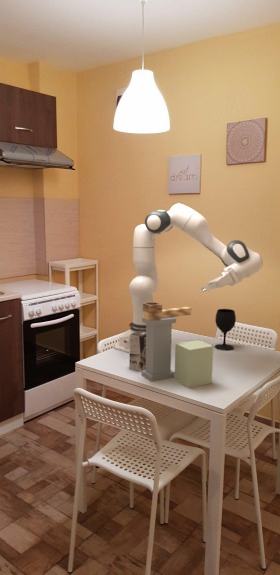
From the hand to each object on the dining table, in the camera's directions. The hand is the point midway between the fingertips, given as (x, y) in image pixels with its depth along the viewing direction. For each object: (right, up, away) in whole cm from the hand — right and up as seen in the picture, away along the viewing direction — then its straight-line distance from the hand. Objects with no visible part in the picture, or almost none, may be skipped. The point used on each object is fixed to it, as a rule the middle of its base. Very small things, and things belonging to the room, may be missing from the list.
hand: (204, 290), depth 204 cm
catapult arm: (-17, -11, -12) cm, 24 cm away
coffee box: (-29, -35, +1) cm, 46 cm away
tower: (-22, -37, -10) cm, 44 cm away
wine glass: (+15, -31, +32) cm, 47 cm away
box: (-7, -38, -15) cm, 42 cm away
